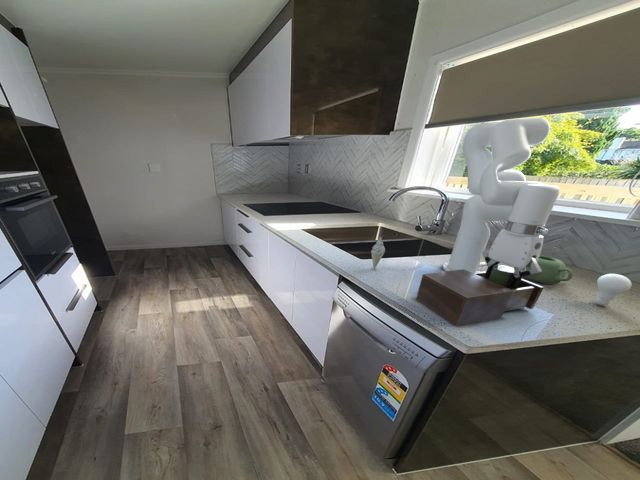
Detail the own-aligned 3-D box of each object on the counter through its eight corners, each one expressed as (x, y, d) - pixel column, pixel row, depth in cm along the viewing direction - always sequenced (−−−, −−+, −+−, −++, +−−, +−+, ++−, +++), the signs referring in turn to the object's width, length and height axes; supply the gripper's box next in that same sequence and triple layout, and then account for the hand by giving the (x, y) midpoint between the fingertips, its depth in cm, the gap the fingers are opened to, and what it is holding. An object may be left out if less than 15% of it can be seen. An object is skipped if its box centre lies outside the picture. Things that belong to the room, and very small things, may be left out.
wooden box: (455, 293, 86) (463, 269, 83) (501, 318, 73) (513, 290, 69) (415, 299, 83) (422, 274, 79) (456, 326, 70) (467, 297, 66)
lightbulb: (579, 300, 82) (596, 270, 77) (595, 299, 82) (613, 270, 78) (604, 310, 76) (625, 280, 72) (621, 309, 76) (643, 279, 72)
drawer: (496, 286, 89) (504, 267, 86) (543, 306, 77) (554, 285, 74) (452, 292, 85) (459, 272, 82) (494, 315, 73) (504, 293, 70)
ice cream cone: (382, 272, 102) (389, 238, 96) (369, 271, 103) (375, 238, 97) (378, 267, 107) (385, 234, 101) (366, 266, 108) (372, 234, 102)
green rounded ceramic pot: (504, 270, 102) (513, 251, 99) (535, 270, 102) (545, 251, 99) (546, 290, 88) (557, 268, 84) (582, 290, 87) (595, 268, 84)
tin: (496, 279, 81) (502, 264, 79) (516, 287, 76) (523, 271, 74) (482, 280, 80) (488, 265, 78) (502, 289, 75) (508, 273, 73)
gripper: (573, 236, 64) (542, 294, 71) (500, 220, 79) (481, 270, 86) (552, 238, 63) (523, 298, 69) (482, 221, 78) (464, 272, 85)
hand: (500, 282), depth 78 cm, fingers closed on tin, 5 cm apart
